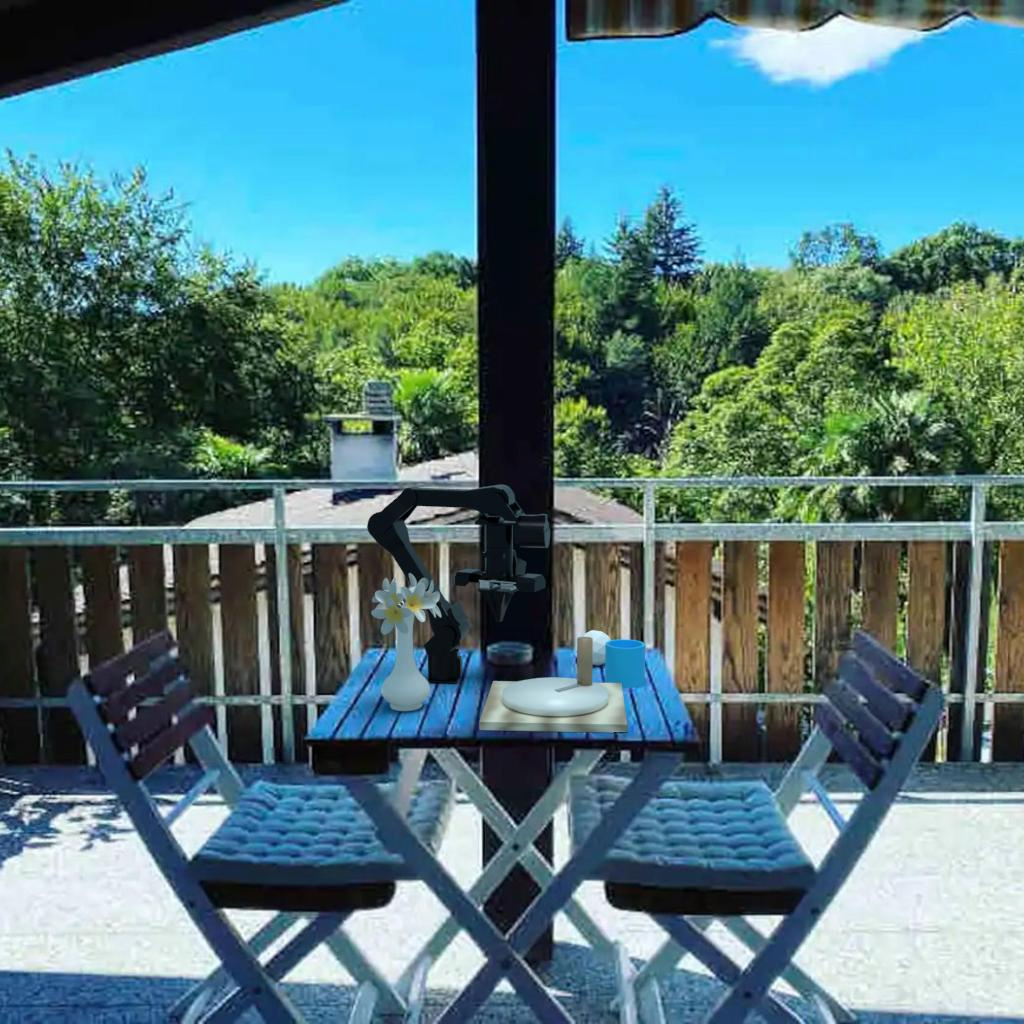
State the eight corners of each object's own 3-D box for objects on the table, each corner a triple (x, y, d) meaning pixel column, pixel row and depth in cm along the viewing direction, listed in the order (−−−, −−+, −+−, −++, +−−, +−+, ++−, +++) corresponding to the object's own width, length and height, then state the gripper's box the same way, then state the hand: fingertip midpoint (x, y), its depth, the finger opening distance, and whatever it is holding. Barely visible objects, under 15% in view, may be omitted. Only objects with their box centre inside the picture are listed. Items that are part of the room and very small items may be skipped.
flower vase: (368, 724, 175) (365, 587, 173) (378, 694, 194) (376, 570, 191) (440, 722, 176) (438, 587, 173) (443, 693, 194) (442, 570, 191)
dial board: (479, 730, 172) (479, 720, 172) (493, 688, 197) (493, 679, 197) (627, 732, 170) (627, 723, 170) (621, 690, 196) (621, 681, 195)
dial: (553, 723, 169) (553, 664, 168) (480, 698, 184) (480, 644, 183) (630, 700, 183) (630, 646, 181) (556, 679, 197) (556, 628, 196)
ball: (603, 677, 215) (615, 654, 210) (569, 664, 215) (581, 641, 210) (609, 654, 221) (620, 630, 216) (576, 641, 221) (587, 618, 216)
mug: (645, 688, 197) (645, 649, 196) (605, 687, 198) (605, 648, 197) (643, 672, 209) (643, 635, 208) (605, 671, 210) (605, 634, 209)
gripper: (556, 544, 201) (556, 618, 203) (478, 539, 210) (479, 610, 211) (533, 551, 191) (533, 628, 193) (451, 545, 200) (452, 620, 202)
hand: (499, 621), depth 200 cm, fingers closed
